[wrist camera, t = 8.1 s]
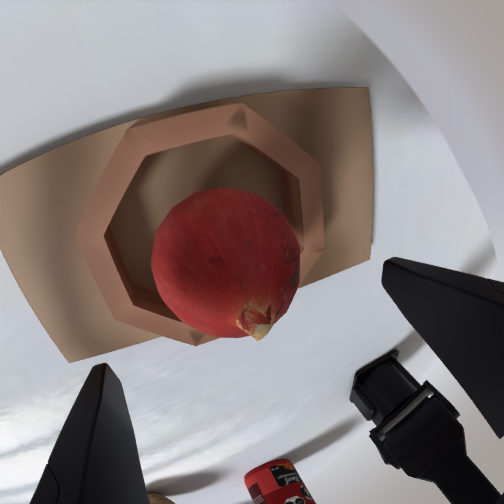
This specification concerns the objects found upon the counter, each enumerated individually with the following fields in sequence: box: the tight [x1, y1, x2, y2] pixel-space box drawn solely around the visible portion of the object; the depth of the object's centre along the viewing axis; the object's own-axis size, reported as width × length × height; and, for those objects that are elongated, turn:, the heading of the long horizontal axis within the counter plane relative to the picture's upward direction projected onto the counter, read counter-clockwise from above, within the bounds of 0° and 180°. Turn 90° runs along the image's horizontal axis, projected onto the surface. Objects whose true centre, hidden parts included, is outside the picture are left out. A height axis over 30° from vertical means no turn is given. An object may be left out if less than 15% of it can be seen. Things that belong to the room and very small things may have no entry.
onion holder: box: [0, 87, 373, 363], centre depth 14 cm, size 22×12×3 cm, turn 99°
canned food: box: [244, 459, 316, 504], centre depth 32 cm, size 8×8×11 cm
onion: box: [151, 187, 300, 341], centre depth 12 cm, size 6×6×8 cm
